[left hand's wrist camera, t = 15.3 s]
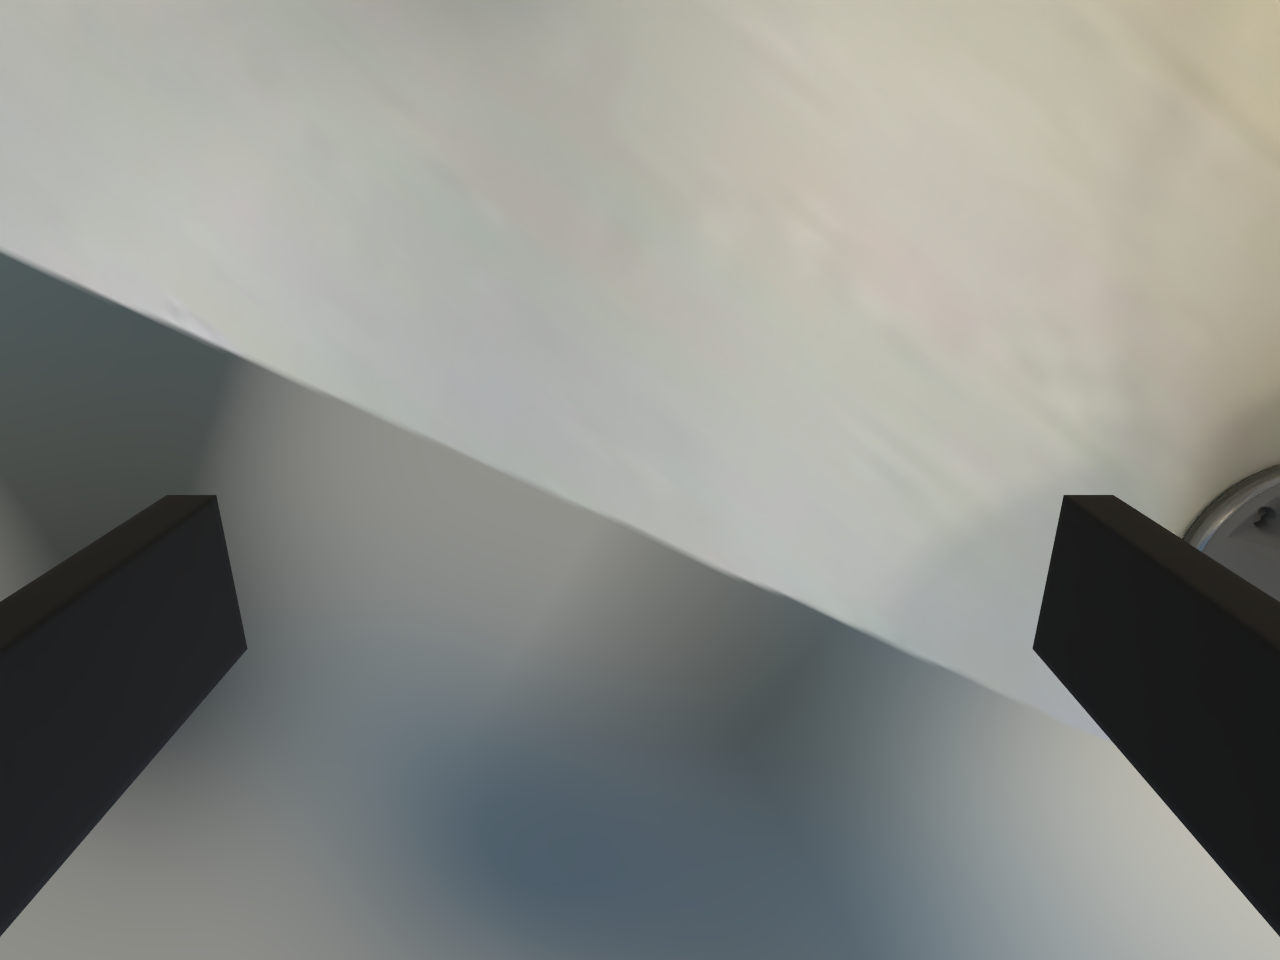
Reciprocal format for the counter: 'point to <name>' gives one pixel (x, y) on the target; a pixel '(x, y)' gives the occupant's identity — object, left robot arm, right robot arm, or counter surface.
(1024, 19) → the counter surface
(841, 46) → the counter surface
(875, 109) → the counter surface
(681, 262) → the counter surface
